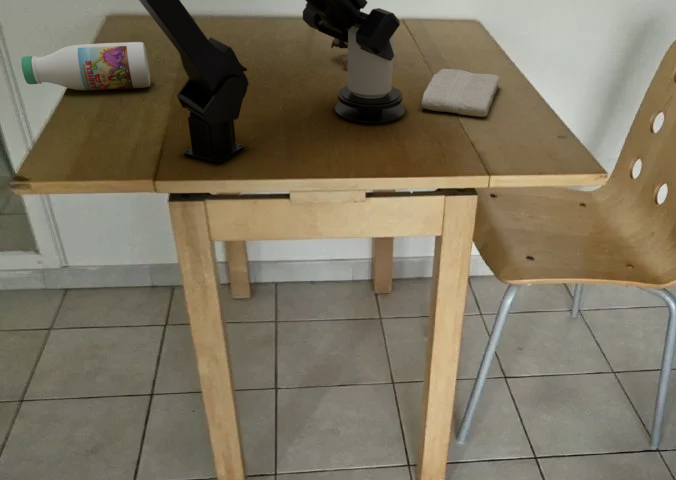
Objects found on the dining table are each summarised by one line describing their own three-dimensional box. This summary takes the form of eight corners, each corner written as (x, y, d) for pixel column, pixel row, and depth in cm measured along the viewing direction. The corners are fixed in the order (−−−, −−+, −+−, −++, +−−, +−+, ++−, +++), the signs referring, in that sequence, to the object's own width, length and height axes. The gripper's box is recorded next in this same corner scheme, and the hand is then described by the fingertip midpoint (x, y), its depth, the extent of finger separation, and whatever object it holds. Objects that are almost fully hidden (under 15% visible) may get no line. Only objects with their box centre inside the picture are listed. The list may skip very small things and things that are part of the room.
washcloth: (499, 86, 136) (501, 70, 134) (487, 121, 122) (490, 103, 120) (438, 79, 138) (439, 63, 136) (419, 112, 124) (420, 95, 122)
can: (394, 100, 118) (398, 26, 112) (349, 100, 117) (350, 25, 110) (388, 84, 125) (391, 13, 118) (345, 85, 123) (346, 13, 117)
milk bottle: (151, 80, 131) (33, 86, 126) (144, 36, 127) (22, 41, 122) (151, 92, 125) (27, 100, 120) (143, 48, 121) (14, 53, 116)
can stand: (386, 130, 117) (387, 110, 115) (322, 116, 120) (321, 97, 118) (415, 107, 126) (416, 88, 124) (354, 94, 129) (354, 76, 127)
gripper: (392, -45, 100) (443, 25, 112) (316, -67, 111) (370, -1, 124) (347, 20, 100) (403, 83, 112) (275, -8, 111) (333, 52, 124)
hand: (377, 52), depth 118 cm, fingers closed on can, 7 cm apart
